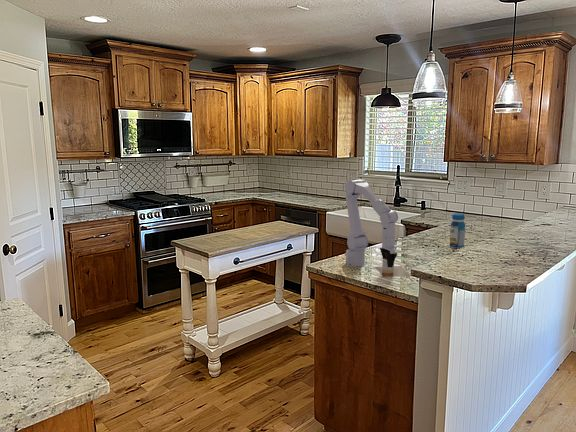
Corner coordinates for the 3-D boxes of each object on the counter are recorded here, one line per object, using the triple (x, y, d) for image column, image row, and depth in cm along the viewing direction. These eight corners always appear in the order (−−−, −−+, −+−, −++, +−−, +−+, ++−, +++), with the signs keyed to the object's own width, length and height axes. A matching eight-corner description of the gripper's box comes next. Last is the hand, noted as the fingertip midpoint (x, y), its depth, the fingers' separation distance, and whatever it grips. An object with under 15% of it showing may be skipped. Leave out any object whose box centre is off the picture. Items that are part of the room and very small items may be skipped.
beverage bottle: (464, 249, 259) (466, 215, 256) (449, 248, 262) (450, 214, 259) (464, 246, 267) (465, 213, 264) (449, 245, 270) (450, 212, 267)
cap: (380, 269, 211) (380, 259, 210) (386, 267, 215) (386, 257, 214) (390, 271, 208) (390, 261, 207) (395, 268, 212) (395, 258, 211)
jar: (383, 274, 209) (383, 264, 208) (380, 271, 214) (381, 262, 213) (394, 274, 209) (395, 264, 208) (391, 271, 214) (391, 261, 214)
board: (383, 279, 206) (383, 276, 206) (374, 269, 223) (374, 266, 223) (411, 278, 207) (411, 275, 207) (400, 268, 224) (400, 265, 223)
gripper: (401, 239, 202) (401, 268, 204) (392, 233, 216) (392, 260, 218) (386, 240, 202) (385, 269, 204) (378, 233, 216) (377, 261, 218)
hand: (387, 264), depth 211 cm, fingers open, 7 cm apart
